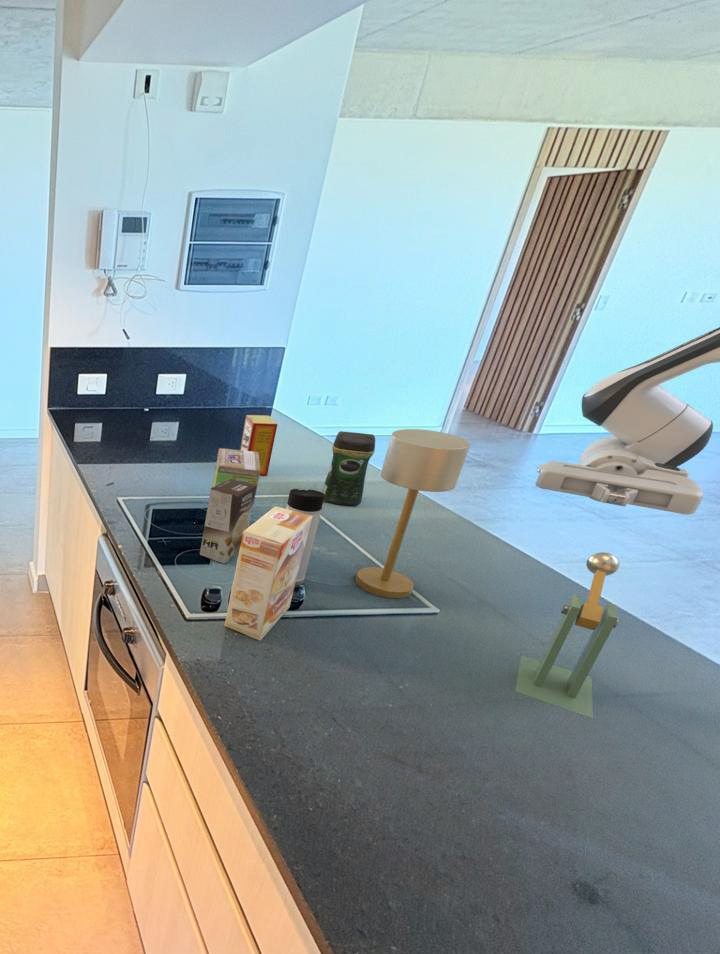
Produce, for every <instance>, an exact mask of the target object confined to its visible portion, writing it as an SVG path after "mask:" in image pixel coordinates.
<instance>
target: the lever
mask: <svg viewBox="0 0 720 954" xmlns="http://www.w3.org/2000/svg"><path fill="white" fill-rule="evenodd" d="M585 565H586V568H587V570H588V571H589V572H590V573H591V574H593V577H592V580H591V585H590V589H589V591H588V592H589V593H588V596H587V600H586V602H585V601H584V602H583V603H582V605H581V609H580V611H579V613H578V615H577V617H576V619H575V621H574V626H578V627H581V628H584V629H588V630H591V631H594V630H595V628H596V627H597V626H598V625H599V623H600V621H601V617H602V613H603V611H604V609H605V607H604V606H601V605H599V603H600V598H601V595H602V592H603V587H604V583H605V580H606V577H609V576H611V575H614V574H615V573H616V572H618V570H619V569H620V561H619V559H618V558H617V556H615V555H613V554H612V553H609V552H603V551H601V552H596V553H593V554H591V555H590V556H589V557H588V558H587V559H586V563H585Z"/></svg>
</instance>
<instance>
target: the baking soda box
mask: <svg viewBox="0 0 720 954" xmlns="http://www.w3.org/2000/svg"><path fill="white" fill-rule="evenodd" d="M277 429H278V423H277V422H276V421H275V420H274V419H273V418H272V417H271V416H270V415H269V414H267V415H266V414H265V415H264V414H246V416H245V419H244V425H243V431H242V437H241V443H240V449H239V450H242V451H252V452H258V453H259V461H260V477H268V473H269V467H270V463H271V458H272V453H273V449H274V443H275V438H276V433H277Z"/></svg>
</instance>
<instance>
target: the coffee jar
mask: <svg viewBox="0 0 720 954" xmlns="http://www.w3.org/2000/svg"><path fill="white" fill-rule="evenodd" d="M331 447H332V450H331V451H332V458H331V463H330V466H329V469H328V473H327V475H326V478H325V481H324V483H323V487H322V491H321V492H322V493H324V494H325V497H324V502H327V503H330V504H336V505H342V506H358V505H360V504H361V503H362V499H363V495H364V489H365V488H364V487H365V480H366V474H367V470H368V466H369V462H370V459H371V458H372V457H373V455H374V453H375V451H376V450H375V449H376V436H375V435H374V434H373V433H372V434H371V433H362V432H354V431H343V430H340V431H338V432H337V434H336V437H335V439H334V442H333V444H332V446H331Z"/></svg>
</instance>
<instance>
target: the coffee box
mask: <svg viewBox="0 0 720 954" xmlns="http://www.w3.org/2000/svg"><path fill="white" fill-rule="evenodd" d="M257 490H258V486H257V485H254V484H250V483H247V482H243V481H237V480H234V479H229V480H227V481H225V482H223V483H221V484H219V485H217V486H215V487H212V486H211V488H210V491H209V497H208V504H207V509H206V515H205V521H204V527H203V533H202V537H201V538H202V539H201V545H200V550H199V555H200V556H201V557H204V558H207V559H210V560H213V561H215V562H218V563H221V564H223V565H225V564H227V563H229V562H230V561H232V560H233V559H235V558H236V557H238V555H239V551H240V546H241V541H242V536H243V531H244V530H246V529H247V528H248V527H249V526H250V525H251V519H252V513H253V509H254V504H255V499H256V495H257Z"/></svg>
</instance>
